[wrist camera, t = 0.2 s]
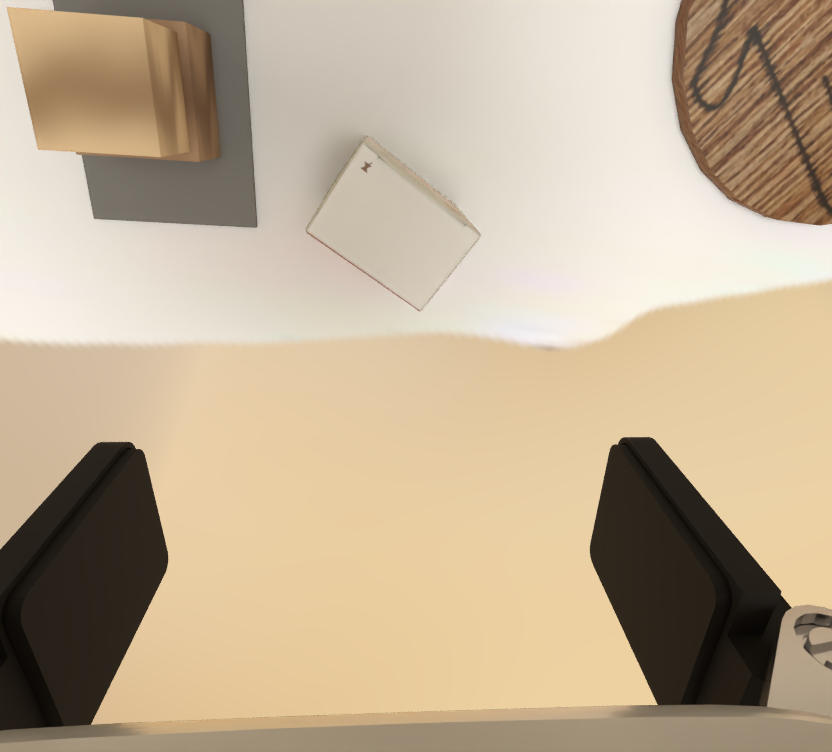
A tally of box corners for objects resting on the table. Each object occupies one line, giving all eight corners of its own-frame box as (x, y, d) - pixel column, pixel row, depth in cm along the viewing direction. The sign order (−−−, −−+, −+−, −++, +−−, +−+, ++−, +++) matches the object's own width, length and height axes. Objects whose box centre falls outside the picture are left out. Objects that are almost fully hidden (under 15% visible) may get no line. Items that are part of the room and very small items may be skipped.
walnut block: (91, 24, 32) (48, 11, 28) (210, 33, 33) (185, 21, 29) (112, 150, 35) (76, 154, 31) (221, 157, 36) (199, 161, 32)
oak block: (61, 22, 28) (6, 7, 24) (176, 32, 29) (142, 17, 25) (83, 145, 31) (38, 149, 27) (189, 152, 31) (160, 157, 27)
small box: (322, 202, 38) (300, 230, 28) (367, 133, 36) (360, 137, 26) (412, 269, 40) (420, 315, 31) (460, 207, 38) (483, 236, 29)
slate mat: (42, -71, 31) (38, -73, 30) (239, -53, 31) (237, -55, 31) (96, 217, 37) (94, 218, 37) (257, 226, 38) (255, 227, 38)
